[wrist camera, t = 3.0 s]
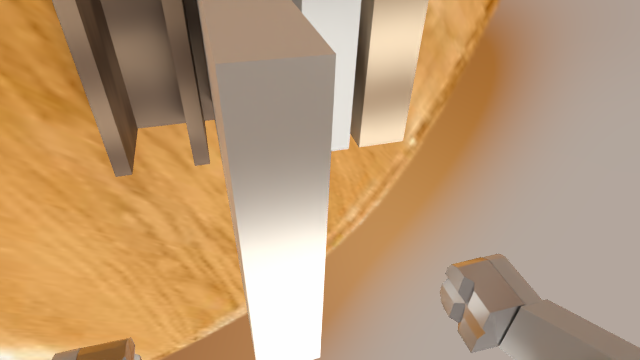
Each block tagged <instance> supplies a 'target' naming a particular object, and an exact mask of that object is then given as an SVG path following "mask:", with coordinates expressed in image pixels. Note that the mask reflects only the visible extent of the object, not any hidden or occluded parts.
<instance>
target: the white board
mask: <svg viewBox="0 0 640 360" xmlns="http://www.w3.org/2000/svg"><path fill="white" fill-rule="evenodd" d="M197 7H198V13H199V20H200V26H201V33H202V40H203V46H204V53H205V59H206V66H207V72H208V79H209V85H210V92H211V98H212V105H213V111H214V117H215V122H216V128H217V134H218V140H219V146H220V152H221V158H222V164H223V170H224V176H225V181H226V187H227V193H228V199H229V205H230V211H231V217H232V223H233V229H234V235H235V241H236V246H237V252H238V258H239V264H240V270H241V276H242V282H243V288H244V294H245V300H246V306H247V311H248V317H249V323H250V329H251V335H252V341H253V347H254V353H255V359H256V360H312V359H316V358H320V348H321V329H322V308H323V292H324V273H325V255H326V236H327V217H328V199H329V180H330V161H331V143H332V124H333V106H334V87H335V68H336V53H335V52H334V51H333V49H332V48H331V47H330V46H329V45H328V44H327V42H326V41H325V40H324V39H323V38H322V36H321V35H320V34H319V33H318V32H317V30H316V29H315V28H314V27H313V26H312V24H311V23H310V22H309V21H308V20H307V18H306V17H305V16H304V15H303V14H302V12H301V11H300V10H299V9H298V8H297V6H296V5H295V4H294V3H293V2H292V0H197Z"/></svg>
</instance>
